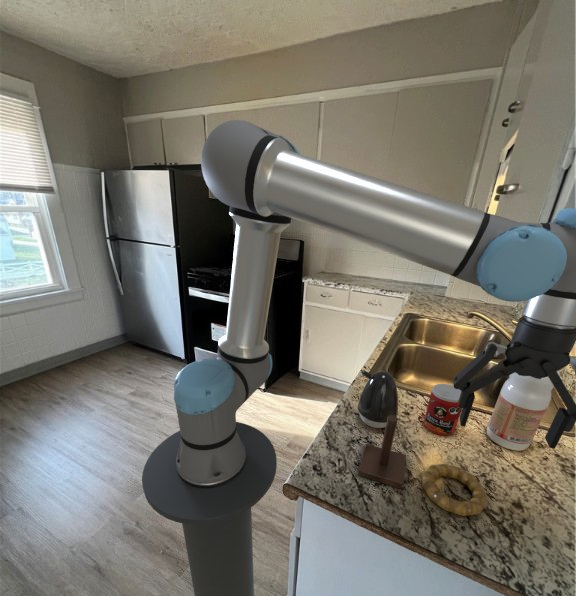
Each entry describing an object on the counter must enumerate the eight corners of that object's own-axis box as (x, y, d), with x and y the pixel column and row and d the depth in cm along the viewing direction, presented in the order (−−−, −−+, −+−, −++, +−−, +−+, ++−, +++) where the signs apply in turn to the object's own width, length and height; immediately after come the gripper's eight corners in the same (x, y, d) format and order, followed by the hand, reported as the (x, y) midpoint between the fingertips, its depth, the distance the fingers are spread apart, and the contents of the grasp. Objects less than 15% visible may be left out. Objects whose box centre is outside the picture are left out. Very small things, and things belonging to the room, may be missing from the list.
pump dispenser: (360, 406, 90) (367, 359, 84) (397, 416, 87) (407, 368, 80) (351, 426, 82) (358, 376, 76) (391, 438, 78) (403, 386, 72)
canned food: (418, 427, 83) (427, 391, 78) (429, 413, 88) (438, 380, 83) (449, 440, 78) (461, 404, 73) (458, 425, 84) (469, 390, 79)
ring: (420, 504, 61) (422, 496, 60) (421, 463, 71) (423, 455, 70) (488, 527, 57) (493, 518, 56) (480, 480, 67) (483, 472, 66)
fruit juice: (477, 433, 81) (513, 332, 69) (499, 423, 85) (536, 326, 73) (515, 456, 74) (563, 349, 62) (536, 444, 78) (586, 341, 66)
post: (358, 475, 67) (366, 425, 62) (365, 448, 75) (373, 401, 69) (401, 489, 64) (415, 438, 59) (404, 459, 72) (416, 411, 66)
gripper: (643, 326, 46) (581, 439, 55) (456, 303, 55) (429, 404, 64) (677, 345, 40) (600, 468, 49) (460, 315, 48) (429, 425, 57)
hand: (504, 432), depth 56 cm, fingers open, 13 cm apart
